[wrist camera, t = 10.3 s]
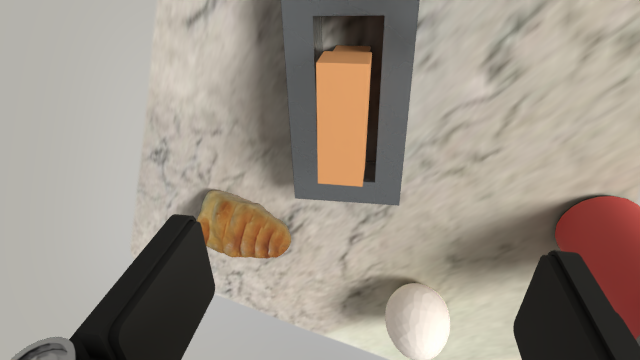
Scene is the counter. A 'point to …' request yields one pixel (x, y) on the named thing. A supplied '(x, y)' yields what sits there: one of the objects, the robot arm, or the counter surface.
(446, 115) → the counter surface
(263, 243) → the pastry
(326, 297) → the counter surface
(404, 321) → the egg
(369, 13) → the gray rectangular frame
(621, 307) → the beer can
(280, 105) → the counter surface
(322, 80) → the tall orange stepped block
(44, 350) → the robot arm
